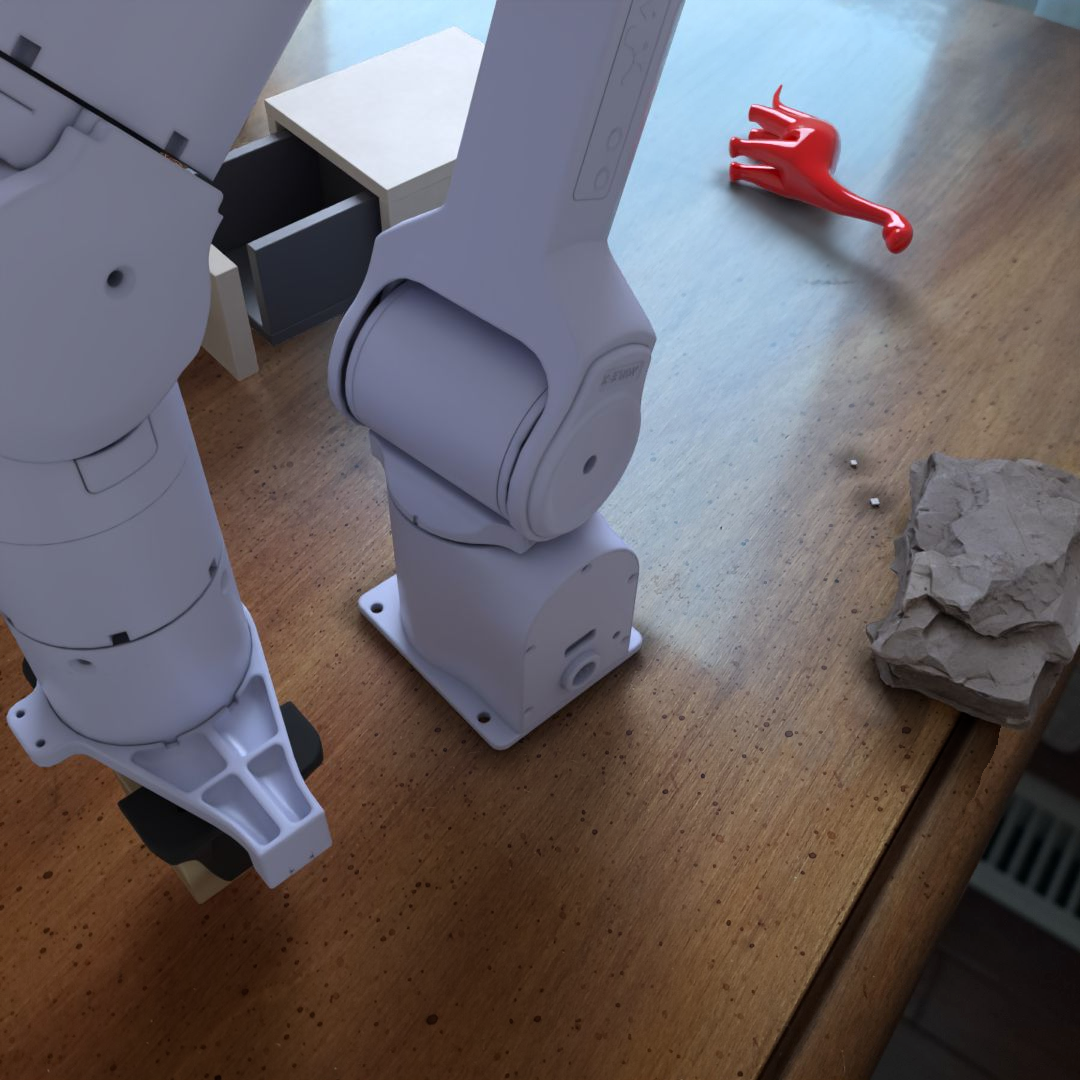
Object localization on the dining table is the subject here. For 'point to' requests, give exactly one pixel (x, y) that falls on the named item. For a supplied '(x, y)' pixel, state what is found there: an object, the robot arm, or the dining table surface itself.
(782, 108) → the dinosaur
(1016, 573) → the rock
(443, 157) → the cabinet
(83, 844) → the dining table surface
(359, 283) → the drawer
